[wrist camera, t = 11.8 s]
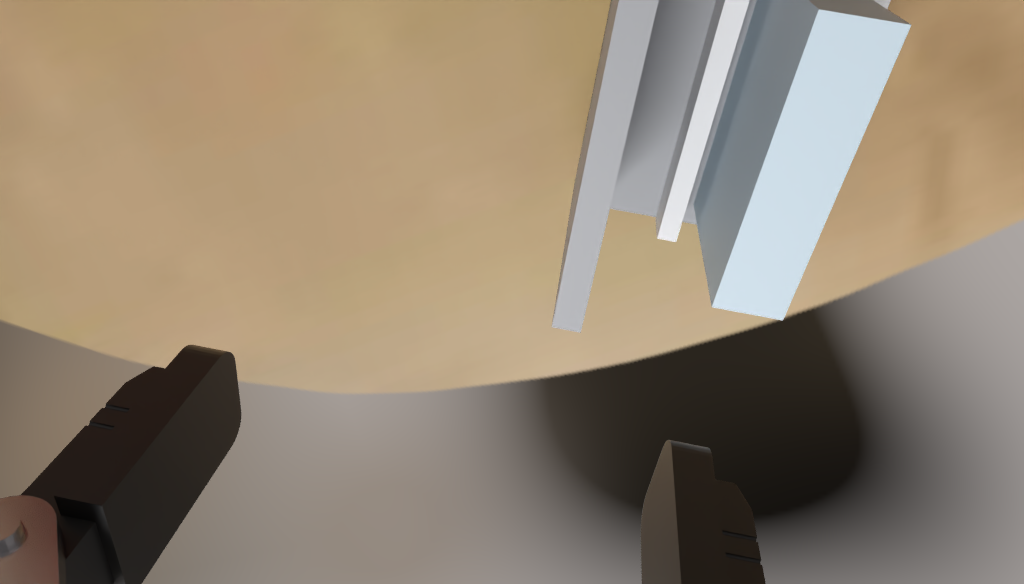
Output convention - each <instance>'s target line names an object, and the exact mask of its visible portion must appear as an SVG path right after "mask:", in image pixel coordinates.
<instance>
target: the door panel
mask: <svg viewBox="0 0 1024 584" xmlns="http://www.w3.org/2000/svg"><path fill="white" fill-rule="evenodd" d="M910 27H911V24H909V23H908V22H906V21H905V20H903V19H901V18H900V17H898V16H897V15H895V14H894V13H892V12H891V11H889V10H888V9H886V8H884V7H883V6H881V5H880V4H878V3H877V2H875V1H874V0H757V1H756V4H755V7H754V10H753V14H752V17H751V20H750V23H749V27H748V30H747V33H746V36H745V39H744V43H743V46H742V49H741V52H740V56H739V59H738V62H737V65H736V69H735V72H734V75H733V78H732V81H731V85H730V88H729V91H728V94H727V98H726V101H725V104H724V107H723V110H722V114H721V117H720V120H719V123H718V127H717V130H716V133H715V136H714V140H713V143H712V146H711V149H710V152H709V156H708V159H707V162H706V165H705V169H704V172H703V175H702V178H701V182H700V185H699V188H698V191H697V194H696V198H695V201H694V204H693V205H694V210H695V216H696V222H697V227H698V233H699V238H700V244H701V249H702V255H703V261H704V266H705V272H706V277H707V283H708V289H709V294H710V300H711V305H712V307H714V308H719V309H725V310H730V311H735V312H741V313H746V314H751V315H756V316H762V317H767V318H772V319H778V320H783V319H784V317H785V314H786V312H787V310H788V307H789V305H790V303H791V300H792V298H793V296H794V294H795V291H796V289H797V287H798V284H799V282H800V280H801V277H802V275H803V273H804V271H805V268H806V266H807V264H808V261H809V259H810V257H811V254H812V252H813V250H814V248H815V245H816V243H817V241H818V238H819V236H820V234H821V231H822V229H823V227H824V225H825V222H826V220H827V218H828V215H829V213H830V211H831V208H832V206H833V204H834V202H835V199H836V197H837V195H838V192H839V190H840V188H841V185H842V183H843V181H844V179H845V176H846V174H847V172H848V169H849V167H850V165H851V162H852V160H853V158H854V156H855V153H856V151H857V149H858V146H859V144H860V142H861V139H862V137H863V135H864V133H865V130H866V128H867V126H868V123H869V121H870V119H871V116H872V114H873V112H874V110H875V107H876V105H877V103H878V100H879V98H880V96H881V93H882V91H883V89H884V87H885V84H886V82H887V80H888V77H889V75H890V73H891V70H892V68H893V66H894V64H895V61H896V59H897V57H898V54H899V52H900V50H901V47H902V45H903V43H904V41H905V38H906V36H907V34H908V31H909V29H910Z"/></svg>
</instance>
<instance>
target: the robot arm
mask: <svg viewBox="0 0 1024 584" xmlns="http://www.w3.org/2000/svg"><path fill="white" fill-rule="evenodd" d="M240 422H241V405H240V397H239V389H238V380H237V371H236V363H235V358H234V356H233V354H232V353H231V352H226V351H221V350H216V349H211V348H206V347H201V346H196V345H188V346H186V347H184V348H183V349H182V350H181V351H180V353H179V354H178V355H177V356H176V357H175V358H174V359H173V360H172V362H171V363H170V364H169V365H168V366H167V367H166V368H165V369H164V368H159V367H152V368H150V369H148V370H147V371H145V372H143V373H141V374H140V375H138V376H136V377H135V378H133V379H131V380H129V381H128V382H126V383H125V384H124V385H123V386H122V387H121V388H120V389H119V390H118V391H117V392H116V394H115V395H114V396H113V397H112V398H111V399H110V400H109V401H108V402H107V403H106V407H105V408H102V409H101V410H100V411H99V412H98V413H97V414H96V415H95V416H94V417H93V418H92V419H91V420H90V424H89V426H85V427H84V428H83V429H82V430H81V431H80V432H79V433H78V434H77V435H76V437H75V438H74V439H73V440H72V441H71V442H70V443H69V444H68V445H67V446H66V447H65V448H64V449H63V450H62V452H61V453H60V454H59V455H58V456H57V457H56V458H55V459H54V460H53V461H52V462H51V463H50V464H49V466H48V467H47V468H46V469H45V470H44V471H43V472H42V473H41V474H40V475H39V476H38V478H36V480H35V481H34V482H33V483H32V484H31V485H30V486H29V487H28V488H27V489H26V490H25V491H24V492H23V493H22V494H21V495H19V496H9V497H5V498H0V584H142V582H143V581H144V579H145V578H146V576H147V575H148V573H149V572H150V570H151V569H152V567H153V566H154V564H155V563H156V561H157V559H158V558H159V556H160V555H161V553H162V552H163V550H164V549H165V547H166V546H167V544H168V543H169V541H170V540H171V538H172V537H173V535H174V534H175V532H176V531H177V529H178V527H179V526H180V524H181V523H182V521H183V520H184V518H185V517H186V515H187V514H188V512H189V510H190V509H191V508H192V506H193V505H194V503H195V502H196V500H197V498H198V497H199V495H200V494H201V492H202V491H203V489H204V488H205V486H206V485H207V483H208V482H209V480H210V479H211V477H212V475H213V474H214V473H215V471H216V469H217V468H218V467H219V465H220V463H221V462H222V460H223V459H224V457H225V456H226V454H227V452H228V451H229V450H230V448H231V447H232V445H233V443H234V441H235V439H236V437H237V434H238V431H239V427H240ZM756 538H757V535H756V530H755V524H754V519H753V514H752V510H751V508H750V506H749V504H748V503H747V501H746V500H745V498H744V496H743V495H742V493H741V492H740V490H739V488H738V487H737V485H736V484H735V483H730V482H725V481H719V480H715V474H714V467H713V459H712V453H711V450H710V449H709V448H707V447H702V446H697V445H692V444H686V443H681V442H676V441H671V440H667V441H666V442H665V445H664V447H663V449H662V452H661V455H660V458H659V460H658V463H657V466H656V469H655V472H654V474H653V477H652V480H651V483H650V486H649V488H648V491H647V494H646V497H645V501H644V506H643V512H642V519H641V563H642V564H641V566H642V567H641V568H642V584H765V578H764V573H763V568H762V565H760V561H761V557H760V551H759V546H758V542H756Z"/></svg>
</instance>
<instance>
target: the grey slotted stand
mask: <svg viewBox="0 0 1024 584" xmlns="http://www.w3.org/2000/svg"><path fill="white" fill-rule="evenodd" d="M756 1H757V0H611V4H610V9H609V14H608V19H607V24H606V29H605V34H604V39H603V44H602V49H601V54H600V59H599V64H598V69H597V74H596V79H595V84H594V89H593V94H592V99H591V104H590V109H589V114H588V119H587V124H586V129H585V134H584V139H583V144H582V149H581V154H580V159H579V164H578V169H577V174H576V179H575V184H574V190H573V196H572V202H571V209H570V215H569V221H568V228H567V234H566V240H565V247H564V253H563V259H562V266H561V272H560V278H559V285H558V291H557V297H556V304H555V310H554V316H553V323H552V327H554V328H559V329H565V330H570V331H575V332H580V333H581V329H582V324H583V320H584V316H585V312H586V307H587V303H588V299H589V295H590V290H591V286H592V282H593V278H594V273H595V269H596V265H597V261H598V256H599V252H600V248H601V244H602V239H603V235H604V231H605V227H606V223H607V218H608V214H609V210H610V209H615V210H620V211H626V212H631V213H637V214H642V215H648V216H653V217H656V230H657V239H663V240H668V241H674V242H676V241H677V237H678V234H679V231H680V227H681V224H682V222H686V223H691V224H697V222H696V216H695V210H694V205H693V204H694V201H695V198H696V194H697V191H698V188H699V185H700V182H701V178H702V175H703V172H704V169H705V165H706V162H707V159H708V156H709V152H710V149H711V146H712V143H713V140H714V136H715V133H716V130H717V127H718V123H719V120H720V117H721V114H722V110H723V107H724V104H725V101H726V98H727V94H728V91H729V88H730V85H731V81H732V78H733V75H734V72H735V69H736V65H737V62H738V59H739V56H740V52H741V49H742V46H743V43H744V39H745V36H746V33H747V30H748V27H749V23H750V20H751V17H752V14H753V10H754V7H755V4H756ZM874 1H875V2H877V3H878V4H880V5H881V6H883V7H884V8H886V9H887V8H888V6H889V4H890V1H891V0H874Z"/></svg>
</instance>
